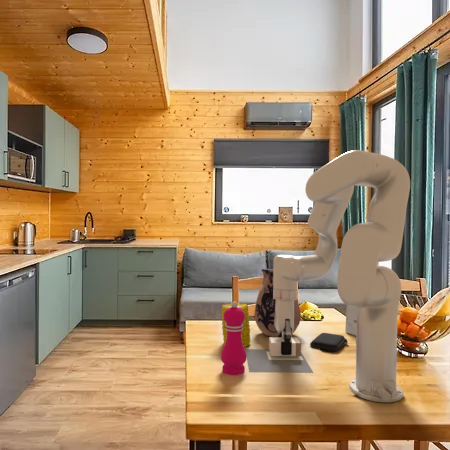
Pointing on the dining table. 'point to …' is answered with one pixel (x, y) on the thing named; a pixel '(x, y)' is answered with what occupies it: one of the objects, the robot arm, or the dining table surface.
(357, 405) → the dining table surface
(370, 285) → the robot arm
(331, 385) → the dining table surface
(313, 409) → the dining table surface
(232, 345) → the pepper mill
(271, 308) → the ceramic pitcher
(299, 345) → the box
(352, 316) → the skincare box
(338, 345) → the carrying case or bag
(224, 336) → the food
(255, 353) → the mat
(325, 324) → the dining table surface
